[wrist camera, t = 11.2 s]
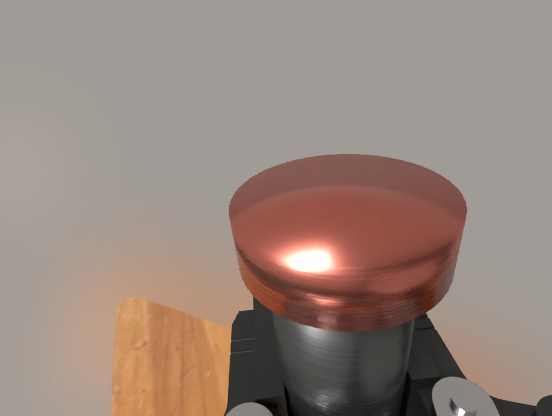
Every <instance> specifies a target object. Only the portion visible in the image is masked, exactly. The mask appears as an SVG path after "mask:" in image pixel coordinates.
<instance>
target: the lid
mask: <svg viewBox="0 0 552 416" xmlns="http://www.w3.org/2000/svg"><path fill="white" fill-rule="evenodd" d="M466 214H467V207H466V202H465V200H464V198H463V195H462V194H461V192H460V191H459V190H458V189H457V188H456V187H455V186H454V185H453V184H452V183H451V182H450V181H449V180H447V179H446V178H444V177H443V176H441V175H439V174H437V173H436V172H434V171H432V170H429V169H427V168H424V167H422V166H419V165H416V164H413V163H410V162H406V161H403V160H398V159H393V158H387V157H381V156H372V155H358V154H338V155H324V156H315V157H308V158H303V159H298V160H294V161H290V162H286V163H283V164H280V165H277V166H274V167H272V168H269V169H267V170H265V171H263V172H260V173H259V174H257V175H255V176H253V177H252V178H250V179H249V180H248V181H246V182H245V183H244V184H243V185H242V186H241V187H240V188H238V190H237V191H236V192H235V194H234V195H233V197H232V199H231V202H230V206H229V217H230V222H231V228H232V233H233V238H234V243H235V248H236V254H237V259H238V263H239V269H240V273H241V276H242V279H243V281H244V283H245V285H246V287H247V288H248V290H249V291H250V292H251V294H252V295H253V296H254V297H255V298H256V299H257V300H258V301H259V302H260V303H261V304H263V305H264V306H265V307H267V308H268V309H270V310H271V311H272V315H273V322H274V329H275V336H276V343H277V350H278V357H279V364H280V370H281V375H282V378H283V382H284V388H285V395H286V403H287V410H288V416H400V414H401V407H402V401H403V394H404V387H405V381H406V374H407V367H408V360H409V354H410V347H411V340H412V334H413V327H414V320H415V318H417V317H419V316H421V315H423V314H424V313H426V312H427V311H429V310H431V309H432V308H433V307H434V306H435V305H437V304H438V303H439V302H440V301H441V300H442V299H443V297H444V296H445V294H446V293H447V292H448V290H449V288H450V286H451V283H452V281H453V276H454V272H455V267H456V262H457V258H458V253H459V248H460V244H461V239H462V234H463V229H464V225H465V220H466Z"/></svg>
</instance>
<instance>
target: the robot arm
mask: <svg viewBox="0 0 552 416" xmlns="http://www.w3.org/2000/svg"><path fill="white" fill-rule="evenodd" d="M253 306H254V310H246V311H239V313H238V314H237V316H236V318H235V320H234V322H233V324H232V334H231V355H230V369H229V387H228V403H227V409H226V412H225V414H224V416H288V410H287V403H286V395H285V388H284V382H283V378H282V375H281V370H280V364H279V357H278V350H277V343H276V336H275V329H274V322H273V315H272V311H271V310H270V309H268V308H267V307H265V306H264V305H263V304H261V303H260V302H259V301H258V300H257V299H256V298H255V297H254V296H253ZM400 416H552V395H549V396H546V397H543V398H542V399H540V401H539V402H538V404H537V406H532V405H526V404H521V403H516V402H511V401H506V400H501V399H497V398H495V397H492V396H490V395H488V394H487V393H486V392H485V391H484V390H483V389H482V388H480V387H479V386H478V385H476V384H475V383H473V382H471V381H469V380H467V379H466V377H465V376H464V375H463V373H462V372H461V370H460V368H459V367H458V365H457V363H456V362H455V360H454V358H453V357H452V355H451V353H450V352H449V350H448V349H447V347H446V345H445V344H444V342H443V340H442V339H441V337H440V335H439V334H438V332H437V330H435V329H434V326H433V324H432V322H431V321H430V319H429V318H428V317H427V314H426V313H424V314H423V315H421V316H419V317H417V318H415V320H414V327H413V334H412V340H411V347H410V354H409V360H408V367H407V374H406V381H405V387H404V394H403V401H402V407H401V414H400Z"/></svg>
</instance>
